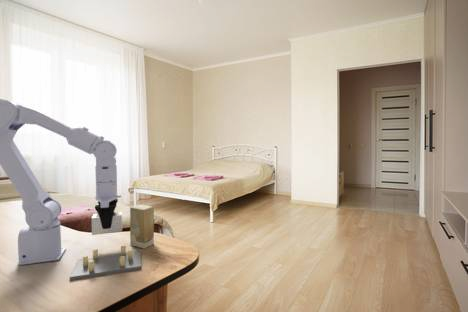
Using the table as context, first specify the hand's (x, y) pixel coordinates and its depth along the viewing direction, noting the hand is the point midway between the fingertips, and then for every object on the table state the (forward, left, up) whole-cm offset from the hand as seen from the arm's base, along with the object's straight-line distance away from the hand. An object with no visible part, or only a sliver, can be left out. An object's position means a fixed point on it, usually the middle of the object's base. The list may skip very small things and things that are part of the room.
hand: (107, 225), depth 82 cm
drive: (0, 0, -2) cm, 2 cm away
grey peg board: (+1, -12, -7) cm, 14 cm away
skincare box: (+10, 0, -7) cm, 12 cm away
